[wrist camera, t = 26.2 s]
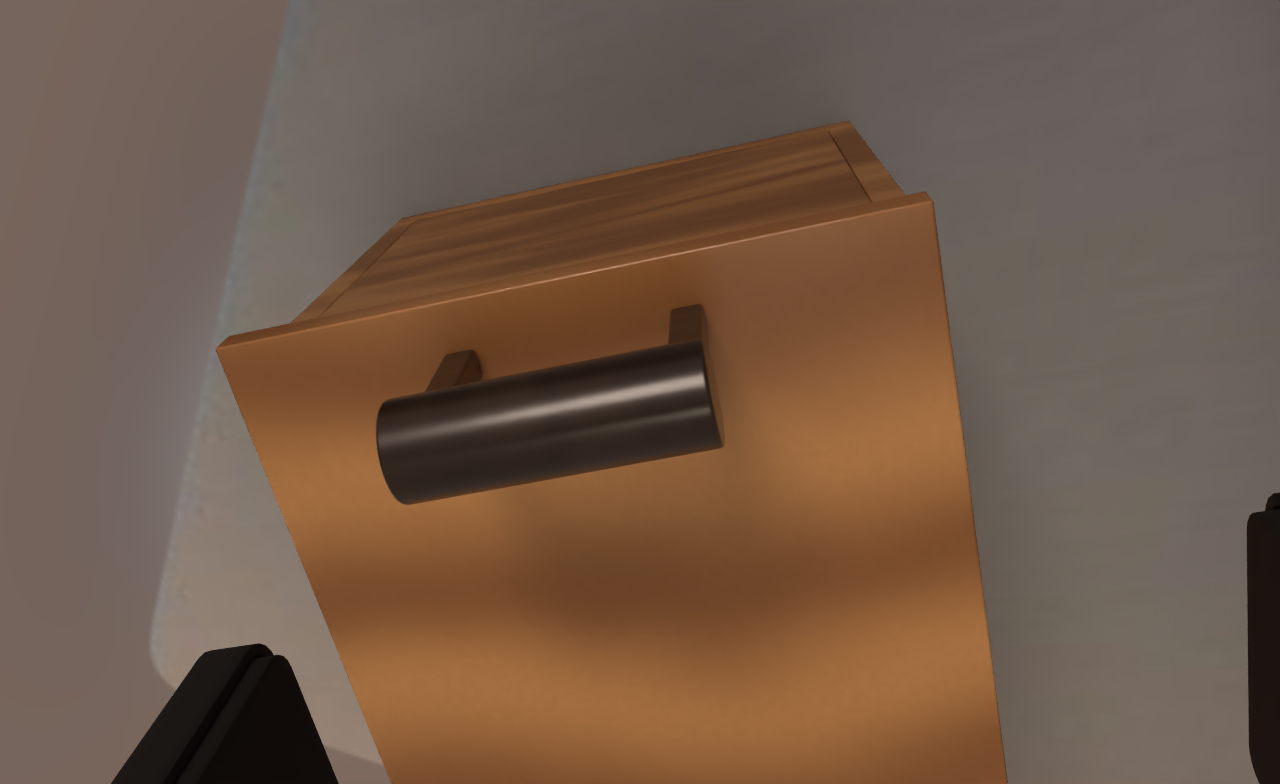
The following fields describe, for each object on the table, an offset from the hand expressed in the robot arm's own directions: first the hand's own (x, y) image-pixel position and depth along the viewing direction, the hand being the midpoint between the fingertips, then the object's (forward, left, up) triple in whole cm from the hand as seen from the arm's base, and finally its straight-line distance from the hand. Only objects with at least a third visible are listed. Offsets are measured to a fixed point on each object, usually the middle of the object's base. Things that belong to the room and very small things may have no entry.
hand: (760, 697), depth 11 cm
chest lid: (+7, -4, -14) cm, 16 cm away
